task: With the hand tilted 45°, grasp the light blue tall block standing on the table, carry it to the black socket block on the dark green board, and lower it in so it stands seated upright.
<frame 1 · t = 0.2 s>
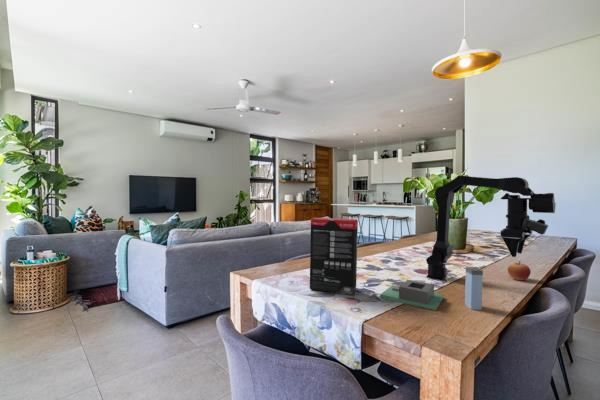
hand: (516, 255, 105), 15 cm above the table, tool pointing down, fingers open, 9 cm apart
header board: (416, 300, 99), on the table
apple: (518, 280, 124), on the table
graphics card box: (333, 291, 108), on the table
light blue tall block: (473, 307, 93), on the table
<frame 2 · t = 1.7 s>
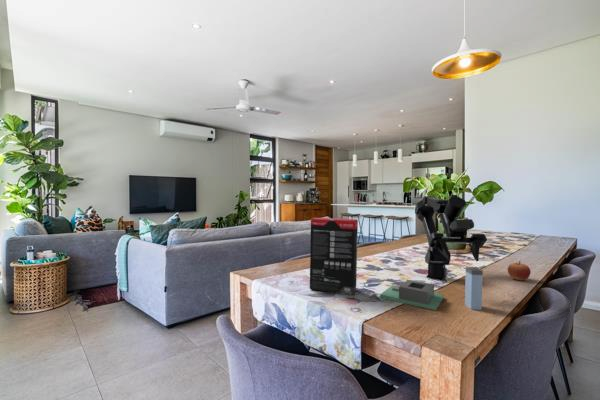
hand: (463, 260, 101), 13 cm above the table, tool tilted 45°, fingers open, 9 cm apart
nothing on the table moved.
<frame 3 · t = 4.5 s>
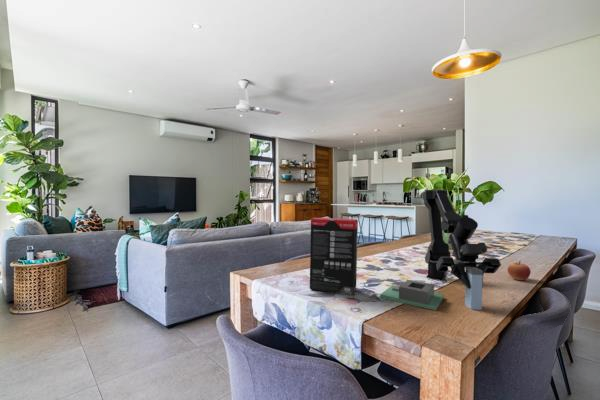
hand: (475, 288, 92), 7 cm above the table, tool tilted 45°, fingers closed on light blue tall block, 3 cm apart
light blue tall block: (473, 307, 93), on the table, touching gripper
everything else where it was.
when the fingers open (9 cm above the table, at t = 8.4 s): light blue tall block drops 1 cm, resting on header board.
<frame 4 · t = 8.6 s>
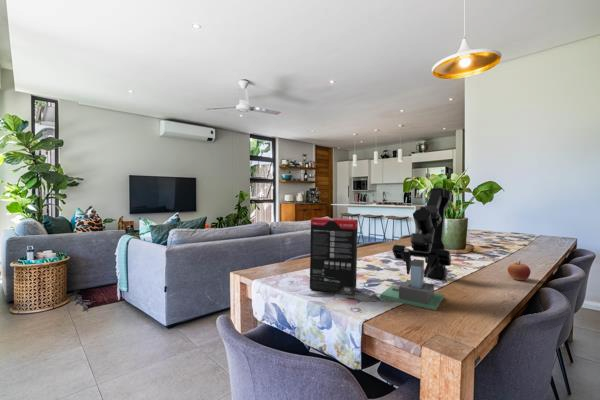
hand: (416, 275, 97), 9 cm above the table, tool tilted 45°, fingers open, 5 cm apart
light blue tall block: (416, 297, 99), point 1 cm above the table, touching header board
everything else where it was.
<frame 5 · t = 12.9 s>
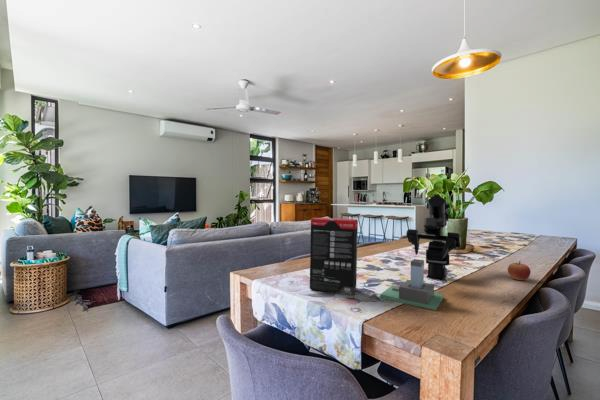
hand: (429, 255, 107), 14 cm above the table, tool tilted 45°, fingers open, 9 cm apart
nothing on the table moved.
at the end: light blue tall block 0.1 cm off-centre on the header board, point 1.2 cm above the header board's base; light blue tall block tilted 0°; the gripper is holding nothing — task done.
